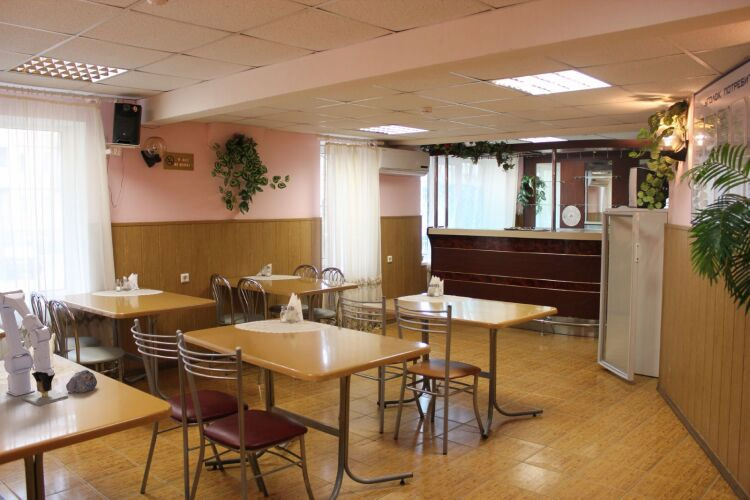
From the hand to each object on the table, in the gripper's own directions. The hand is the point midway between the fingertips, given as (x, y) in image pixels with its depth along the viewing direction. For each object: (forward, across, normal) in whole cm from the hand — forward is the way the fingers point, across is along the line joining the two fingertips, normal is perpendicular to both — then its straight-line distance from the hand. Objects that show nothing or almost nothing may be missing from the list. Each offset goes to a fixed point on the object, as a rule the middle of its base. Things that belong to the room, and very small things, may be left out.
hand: (44, 389), depth 255 cm
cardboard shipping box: (0, 0, 0) cm, 0 cm away
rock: (+4, -2, -14) cm, 14 cm away
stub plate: (+4, 0, 0) cm, 4 cm away
